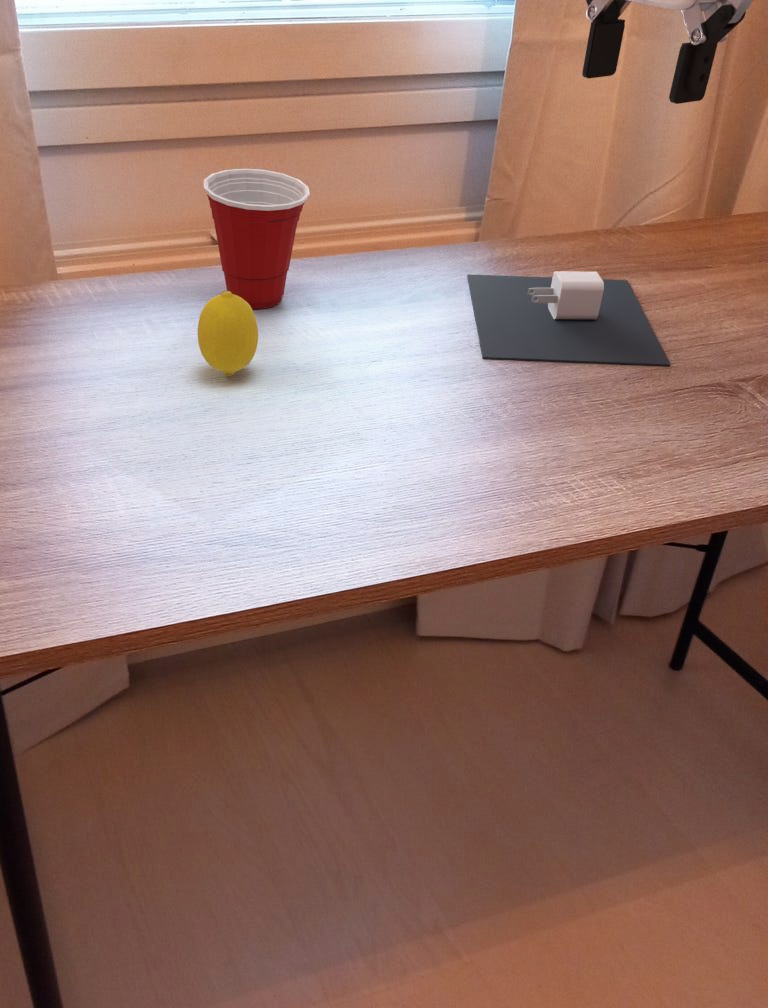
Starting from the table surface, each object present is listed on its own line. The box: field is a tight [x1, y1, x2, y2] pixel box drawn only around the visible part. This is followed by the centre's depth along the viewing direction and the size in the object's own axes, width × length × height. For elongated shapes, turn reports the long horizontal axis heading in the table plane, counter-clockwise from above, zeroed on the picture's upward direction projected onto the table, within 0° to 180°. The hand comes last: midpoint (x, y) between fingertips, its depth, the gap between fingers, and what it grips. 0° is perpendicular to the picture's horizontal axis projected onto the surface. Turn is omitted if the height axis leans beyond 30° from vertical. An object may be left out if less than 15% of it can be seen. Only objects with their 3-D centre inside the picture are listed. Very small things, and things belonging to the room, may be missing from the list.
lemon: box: [197, 290, 259, 377], centre depth 93 cm, size 6×6×8 cm
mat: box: [466, 273, 671, 367], centre depth 107 cm, size 22×18×1 cm
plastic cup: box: [203, 168, 311, 310], centre depth 106 cm, size 11×11×12 cm
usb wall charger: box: [528, 270, 604, 320], centre depth 106 cm, size 4×7×4 cm, turn 91°
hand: (640, 88), depth 82 cm, fingers open, 9 cm apart
